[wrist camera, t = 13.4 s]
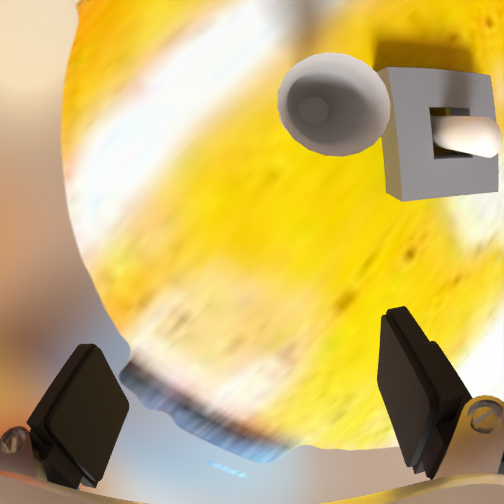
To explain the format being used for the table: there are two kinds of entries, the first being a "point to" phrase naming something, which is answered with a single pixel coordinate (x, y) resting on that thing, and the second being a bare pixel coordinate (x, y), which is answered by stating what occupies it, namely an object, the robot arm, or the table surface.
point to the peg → (466, 134)
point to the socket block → (420, 133)
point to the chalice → (333, 104)
